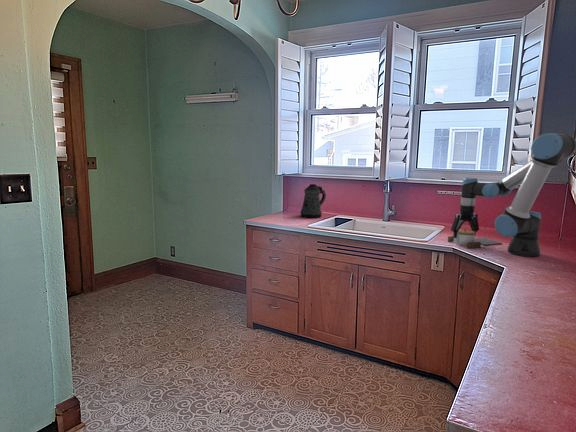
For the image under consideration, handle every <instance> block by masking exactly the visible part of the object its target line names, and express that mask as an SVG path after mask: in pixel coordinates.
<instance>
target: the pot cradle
mask: <svg viewBox="0 0 576 432" xmlns="http://www.w3.org/2000/svg"><path fill="white" fill-rule="evenodd" d="M447 242H448V243H451V242H452V243H454V237H453V235H452V236H450V235H449V236H447ZM481 247H482V245H481V242H470V243H467V246H466V249H469V250H470V249H480V248H481Z"/></svg>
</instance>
